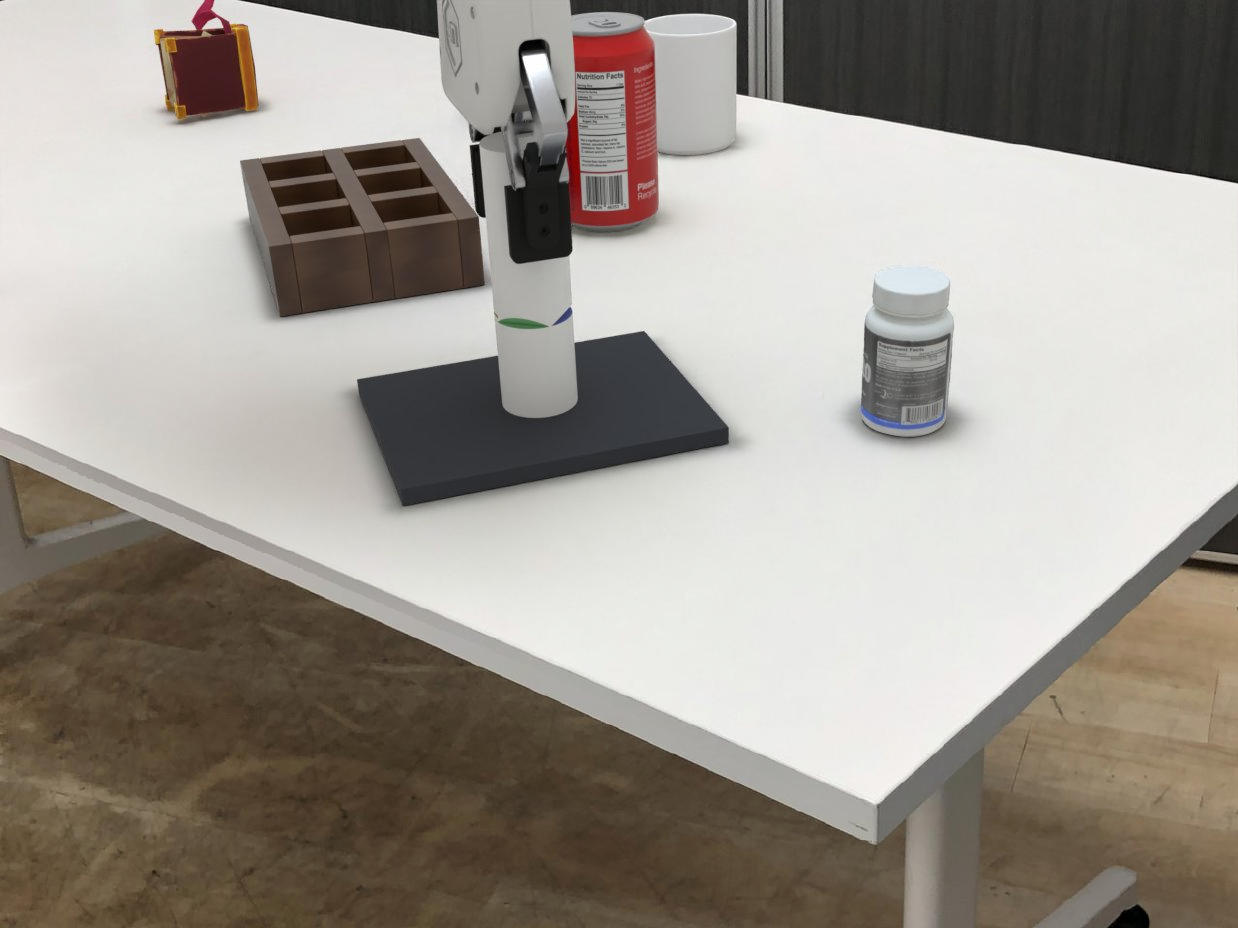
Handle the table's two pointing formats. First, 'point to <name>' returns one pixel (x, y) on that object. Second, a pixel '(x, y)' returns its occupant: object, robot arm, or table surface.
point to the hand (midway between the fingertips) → (522, 232)
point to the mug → (694, 82)
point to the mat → (533, 420)
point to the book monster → (207, 67)
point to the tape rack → (360, 226)
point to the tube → (527, 307)
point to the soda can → (612, 123)
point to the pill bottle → (907, 351)
